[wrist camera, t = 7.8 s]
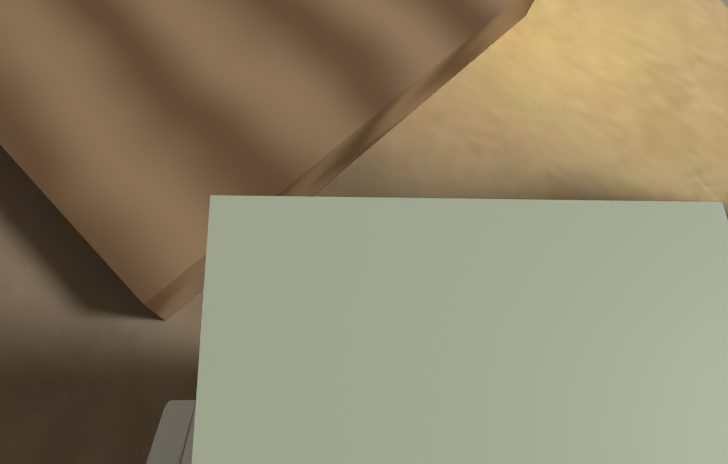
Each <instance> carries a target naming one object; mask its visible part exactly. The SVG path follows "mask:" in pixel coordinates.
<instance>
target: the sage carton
mask: <svg viewBox="0 0 728 464" xmlns="http://www.w3.org/2000/svg"><path fill="white" fill-rule="evenodd" d="M192 464H728V219H727V215H726V212H725V209H724V206H723V203H722V202H679V201H604V200H528V199H453V198H378V197H303V196H228V195H210V207H209V221H208V236H207V250H206V264H205V279H204V293H203V308H202V322H201V336H200V351H199V365H198V380H197V394H196V408H195V423H194V437H193V452H192Z"/></svg>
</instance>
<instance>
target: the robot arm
mask: <svg viewBox="0 0 728 464" xmlns="http://www.w3.org/2000/svg"><path fill="white" fill-rule="evenodd" d="M195 408H196V400H169V402H168V403H167V404H166V406H165V407H164V410H163V413H162V416H161V419H160V422H159V425H158V428H157V431H156V434H155V437H154V441H153V444H152V447H151V450H150V453H149V456H148V459H147V462H146V464H192V452H193V437H194V423H195Z"/></svg>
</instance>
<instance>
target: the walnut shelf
mask: <svg viewBox="0 0 728 464" xmlns="http://www.w3.org/2000/svg"><path fill="white" fill-rule="evenodd" d="M533 1H534V0H0V145H1V146H2V147H3V148H4V150H5V151H6V152H7V153H8V154H9V155H10V156H11V157H12V158H13V160H14V161H15V162H16V163H17V164H18V165H19V166H20V167H21V169H22V170H23V171H24V172H25V173H26V174H27V175H28V176H29V177H30V179H31V180H32V181H33V182H34V183H35V184H36V185H37V186H38V187H39V189H40V190H41V191H42V192H43V193H44V194H45V195H46V196H47V197H48V199H49V200H50V201H51V202H52V203H53V204H54V205H55V206H56V207H57V209H58V210H59V211H60V212H61V213H62V214H63V215H64V216H65V217H66V219H67V220H68V221H69V222H70V223H71V224H72V225H73V226H74V228H75V229H76V230H77V231H78V232H79V233H80V234H81V235H82V236H83V238H84V239H85V240H86V241H87V242H88V243H89V244H90V245H91V246H92V248H93V249H94V250H95V251H96V252H97V253H98V254H99V255H100V256H101V258H102V259H103V260H104V261H105V262H106V263H107V264H108V265H109V266H110V268H111V269H112V270H113V271H114V272H115V273H116V274H117V275H118V276H119V278H120V279H121V280H122V281H123V282H124V283H125V284H126V285H127V286H128V288H129V289H130V290H131V291H132V292H133V293H134V294H135V295H136V297H137V298H138V299H139V300H140V301H141V302H142V303H143V304H144V305H145V306H146V307H148V308H149V309H150V310H152V311H153V312H154V313H156V314H157V315H158V316H160V317H161V318H162V319H164V320H166V319H168V318H169V317H170V316H171V315H172V314H174V313H175V312H176V311H177V310H178V309H179V308H181V307H182V306H183V305H184V304H185V303H187V302H188V301H189V300H190V299H191V298H192V297H194V296H195V295H196V294H197V293H198V292H200V291H201V290H202V289H203V288H204V279H205V264H206V250H207V236H208V221H209V207H210V195H228V196H303V197H312V196H313V195H314V194H315V193H316V192H318V191H319V190H320V189H321V188H322V187H324V186H325V185H326V184H327V183H328V182H329V181H331V180H332V179H333V178H334V177H335V176H337V175H338V174H339V173H340V172H341V171H342V170H344V169H345V168H346V167H347V166H348V165H350V164H351V163H352V162H353V161H354V160H355V159H357V158H358V157H359V156H360V155H361V154H363V153H364V152H365V151H366V150H367V149H368V148H370V147H371V146H372V145H373V144H374V143H376V142H377V141H378V140H379V139H380V138H381V137H383V136H384V135H385V134H386V133H387V132H389V131H390V130H391V129H392V128H393V127H394V126H396V125H397V124H398V123H399V122H400V121H402V120H403V119H404V118H405V117H406V116H407V115H409V114H410V113H411V112H412V111H413V110H415V109H416V108H417V107H418V106H419V105H420V104H422V103H423V102H424V101H425V100H426V99H428V98H429V97H430V96H431V95H432V94H433V93H435V92H436V91H437V90H438V89H439V88H441V87H442V86H443V85H444V84H445V83H446V82H448V81H449V80H450V79H451V78H452V77H454V76H455V75H456V74H457V73H458V72H459V71H461V70H462V69H463V68H464V67H465V66H467V65H468V64H469V63H470V62H471V61H472V60H474V59H475V58H476V57H477V56H478V55H480V54H481V53H482V52H483V51H484V50H485V49H487V48H488V47H489V46H490V45H491V44H493V43H494V42H495V41H496V40H497V39H498V38H500V37H501V36H502V35H503V34H504V33H506V32H507V31H508V30H509V29H510V28H511V27H513V26H514V25H515V24H516V23H517V22H519V21H520V20H521V19H522V18H523V17H524V16H526V14H527V12H528V10H529V9H530V7H531V5H532V3H533Z"/></svg>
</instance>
